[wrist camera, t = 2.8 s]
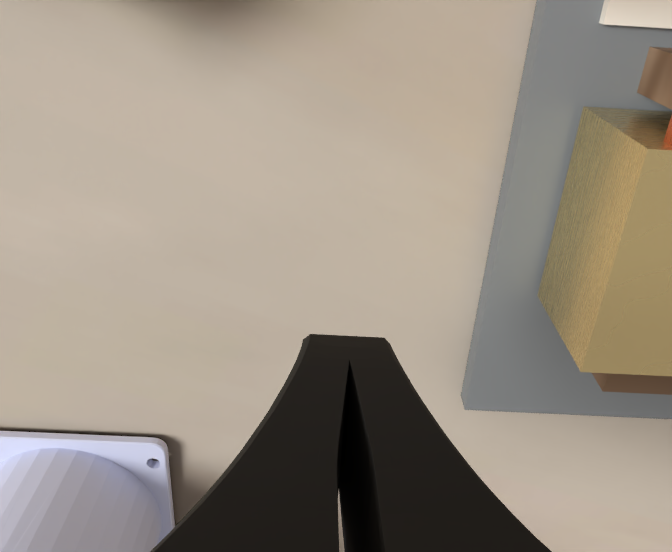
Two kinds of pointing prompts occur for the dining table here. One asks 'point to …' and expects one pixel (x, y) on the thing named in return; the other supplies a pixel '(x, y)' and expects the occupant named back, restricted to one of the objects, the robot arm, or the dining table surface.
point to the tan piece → (615, 245)
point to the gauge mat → (551, 215)
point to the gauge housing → (668, 90)
